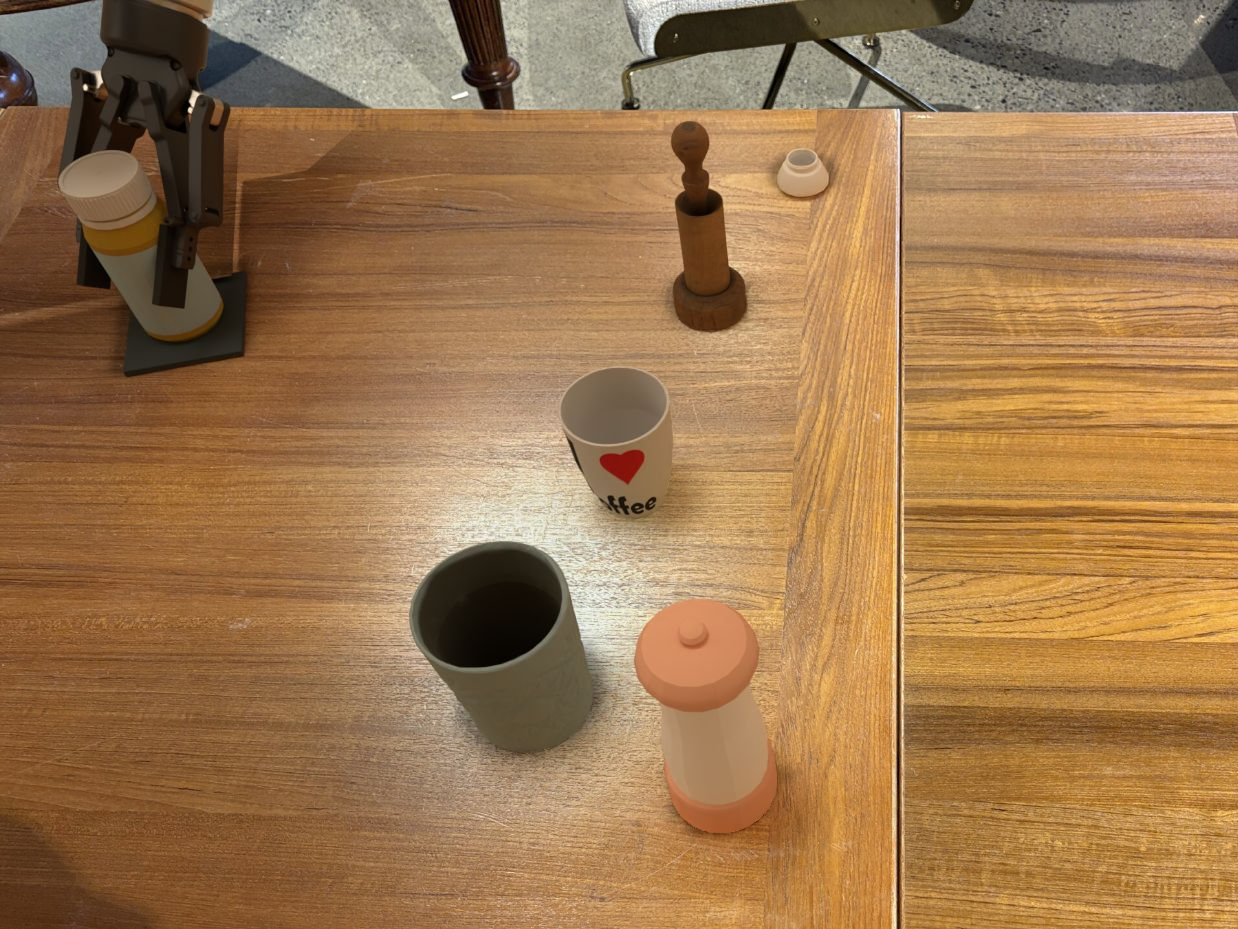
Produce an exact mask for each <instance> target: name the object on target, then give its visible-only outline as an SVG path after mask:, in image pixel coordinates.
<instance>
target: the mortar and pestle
mask: <svg viewBox="0 0 1238 929" xmlns="http://www.w3.org/2000/svg"><path fill="white" fill-rule="evenodd" d="M709 136H710V135H709V134H708V132H707V129H706V128H705V127H704V126H703V125H702V124H700V122H697V121H694V120H686V121H682V122H680V123H679V124H677V125H676V126H675V128H674V129H673V131H672V133H671V136H670V146H671V149H672V152H673V153H674V155H675V156H676V157H677V159H678V160H679V161H680V162H681V163H682V165H683V166H684V171H683V173H682V174H681V176H680V180H681V183H682V186H683V189H684V190H683V191H681V192H680V193H679V194H677V196H676V197H675V199H674V208H675V216H676V221H677V226H678V228H677V229H678V234H679V242H680V249H681V257H682V265H683V271H682V272H680V273H679V274H678V275H677V276H676V277H675V279H674V281H673V284H672V297H673V305H674V310H675V314H676V316H677V317H678V319H679V320H680V321H681V322H682V323H683V324H684V325H685V326H688V327H689V328H692V329H694V330H698V331H704V332H713V331H720V330H724V329H727V328H730V327H732V326H734V325H736V324H737V323H739V322H740V321H741V320H742V319H743V317H744V316H745V314H746V312H747V309H748V301H747V291H746V289H747V288H746V282H745V280H744V277H743V276H742V274H740V272H739V271H738V270H736V269H735V268H733V267H731V266H730V263H729V253H728V244H727V233H726V220H725V209H724V200H723V197H722V195H721V194H720V193H719V192H718V191H716V190H714V189H712V188H709V187H710V173H709V172H708V171H707V170H706V169H704V168H703V164H704V161H705V159H706V157H707V155H708V152H709V150H710V137H709Z"/></svg>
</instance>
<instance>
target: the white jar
mask: <svg viewBox="0 0 1238 929" xmlns="http://www.w3.org/2000/svg"><path fill="white" fill-rule="evenodd" d="M829 177H830V174H829V172H828V170H827V169H826V167H825V166H824V164H823V162H822V161H821V159H820V158H819V156H818V154H817V152H815V151H814V150H812V149H810V148H807V147H806V148H804V147H803V148H802V147H801V148H796V149H792V150H791V151H789V152H788V153H787V155H786V158H785V160H784V161H783V163H782V164H781V166H780V168H779V171H778V172H777V178H776V184H777V186H778V188H779V190H781V191H782V192H783V193H785V194H787V195H789V196H794V197H797V198H799V197H801V198H802V197H803V198H805V197H807V198H808V197H811V196H815V195H817V194H819V193H822V192H823V191H824V190H825V189H826V188H827V186H829V179H830V178H829Z"/></svg>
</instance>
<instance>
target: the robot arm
mask: <svg viewBox="0 0 1238 929" xmlns="http://www.w3.org/2000/svg"><path fill="white" fill-rule="evenodd" d="M213 7H214V0H102V7H101V17H100V29H99V38H100V41H101V42H102V44H103V45H104V46H105V47H106V50H107V51H106V52H107V55H106V59H105V61H104V62H103V64H102V66H101V68H100V69H98V70H86V69H83V68H80V67H76V66H75V67H72V68H71V70H70V72H69V79H70V88H71V102H70V106H69V107H70V108H69V113H68V119H67V123H66V130H65V135H64V141H63V147H62V152H61V158H60V162H59V169H58V174H57V180H56V184H57V187H58V189H59V190H60V188H59V184H58V181H59V177H60V175H61V173H62V172H63V170H64V169H65V168H66V167H67V166H68V165H70V164H71V163H72V162H74V161H75V160H77V159H79V158H81V157H83V156H86V155H88V154H91V153H95V152H99V151H107V150H118V151H124V152H127V153H129V154H131V155H132V151H133V149H134V147H135V144H136V142H137V140H138V139H140V138H142V137H143V136H144V135H145V133H146V131H147V134H148V136H149V138H150V139H151V140H152V141H153V142H154V146H155V150H156V156H157V161H158V166H159V173H160V177H161V178H160V179H161V182H162V189H163V193H164V199H165V202H166V205H167V210H168V215H169V217H167V218H162V220H163V222H164V223H165V224H167V225H164V224H160V227H159V237H158V247H157V257H156V267H155V277H154V287H153V297H152V304H154V305H157V306H164V307H172V308H181V309H185V299H186V290H187V280H188V271H189V270H193V268H194V266H195V261H196V258H195V257H196V253H197V250H198V242H199V235H200V232H201V231H202V230H203V229H207V228H212V227H215V228H219V227H221V226H222V224H223V222H224V174H225V172H224V171H225V170H224V168H225V166H224V165H225V163H224V160H225V131H226V128H227V124H228V121H229V118H230V115H231V111H232V108H231V106H230V104H229V103H228V102H227V101H223V100H221V99H217V98H215V97H211V96H209V95H207V94H205V93H203V92H202V89H201V86H200V82H199V73H201V72H204V71H205V69H206V68H207V62H208V52H209V43H210V32H211V30H210V29H209V28H208V25H207V24H206V23H204V22H203V21H204V19H206V20H207V19H209V18H211V17H213V9H214V8H213ZM189 115H190V116H189ZM169 225H171V226H169ZM75 226H76V227H75V228H76V229H75V238H76V239H75V240H76V243H78V244H79V249H78V260H77V261H78V262H77V271H76V273H77V274H76V283H75V285H77V286H81V287H87V288H93V289H101V290H111V288H112V287H111V285H112V279H111V278H110V276H109V275H108V273H107V272H106V270H105V269H104V267H103V266H102V264H101V263H100V261H99V259H98V258H97V256H96V255H95V253H94V252H93V250H92V249H91V247H90V246H89V244H88V242H87V240H86V239H85V237H84V232H83V226H82V222H81V221H80V220H79V218H78V216H77V215H76V225H75Z"/></svg>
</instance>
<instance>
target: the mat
mask: <svg viewBox="0 0 1238 929" xmlns="http://www.w3.org/2000/svg"><path fill="white" fill-rule="evenodd" d="M211 280H212V281H213V283H214V285H215V287H216V289H217V290H218V292H219V294H220V296H221V298H222V301H223V310H222V314H221V316H220V318H219V320H218V322H217V323H216V325H215V326H214V327H213V328H212V329H210V330H209V331H208V332H207V333H205V334H203V335H201V336H199V337H197V338H195V339H191V340H188V341H183V342H170V341H164V340H160V339H156V338H154V337H152V336H150V335H149V334H148V333H147V332H146V331H145V330H144V328H143V326H142V325H141V324H140V322H139V321H138V319H137V318H136V316H135V315H134V313H133V312H132V310H131V309H130V311H129V319H128V320H129V321H128V328H127V336H126V343H125V352H124V360H123V362H124V363H123V368H122V372H123V374H124V376H125V377H133V376H138V375H144V374H150V373H154V372H160V371H166V370H172V369H178V368H183V367H189V366H195V365H199V364H206V363H211V362H217V361H223V360H227V359H234V358H238V357H244V356H245V342H246V340H245V338H246V319H247V316H246V315H247V296H248V273H247V272H246V271H245V270H241V271H234V272H231V275H227V276H222V277H215V278H211Z"/></svg>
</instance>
